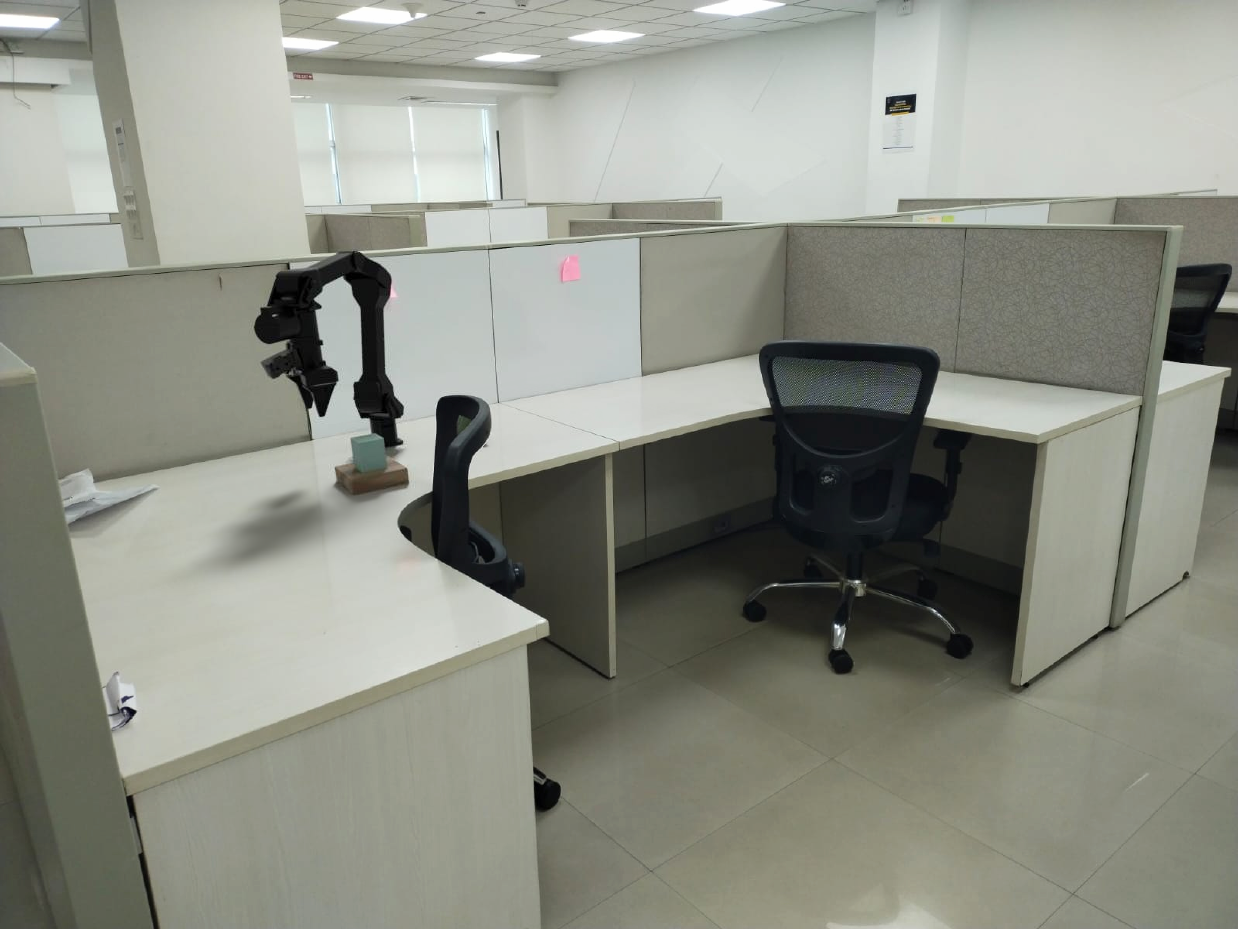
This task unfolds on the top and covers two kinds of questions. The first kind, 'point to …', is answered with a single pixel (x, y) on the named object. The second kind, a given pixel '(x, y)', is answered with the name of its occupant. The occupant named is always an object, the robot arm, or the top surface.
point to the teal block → (368, 452)
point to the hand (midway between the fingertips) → (315, 412)
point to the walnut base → (371, 477)
